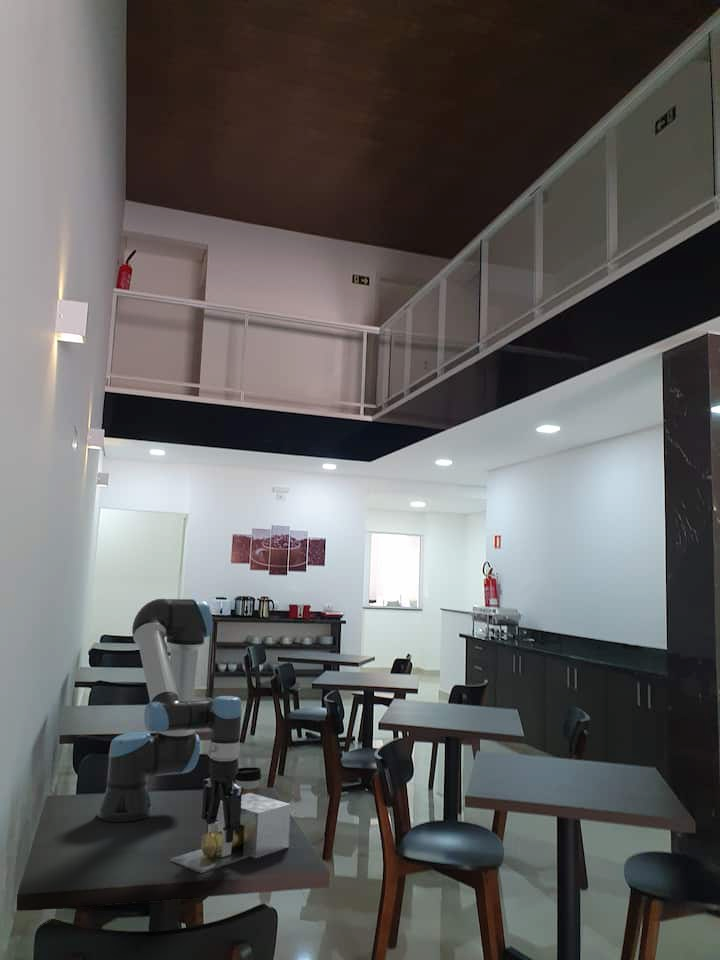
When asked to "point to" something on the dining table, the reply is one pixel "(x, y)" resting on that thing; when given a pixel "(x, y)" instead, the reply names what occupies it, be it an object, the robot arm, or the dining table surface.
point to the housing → (247, 833)
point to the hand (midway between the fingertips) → (218, 852)
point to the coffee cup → (249, 779)
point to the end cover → (220, 841)
